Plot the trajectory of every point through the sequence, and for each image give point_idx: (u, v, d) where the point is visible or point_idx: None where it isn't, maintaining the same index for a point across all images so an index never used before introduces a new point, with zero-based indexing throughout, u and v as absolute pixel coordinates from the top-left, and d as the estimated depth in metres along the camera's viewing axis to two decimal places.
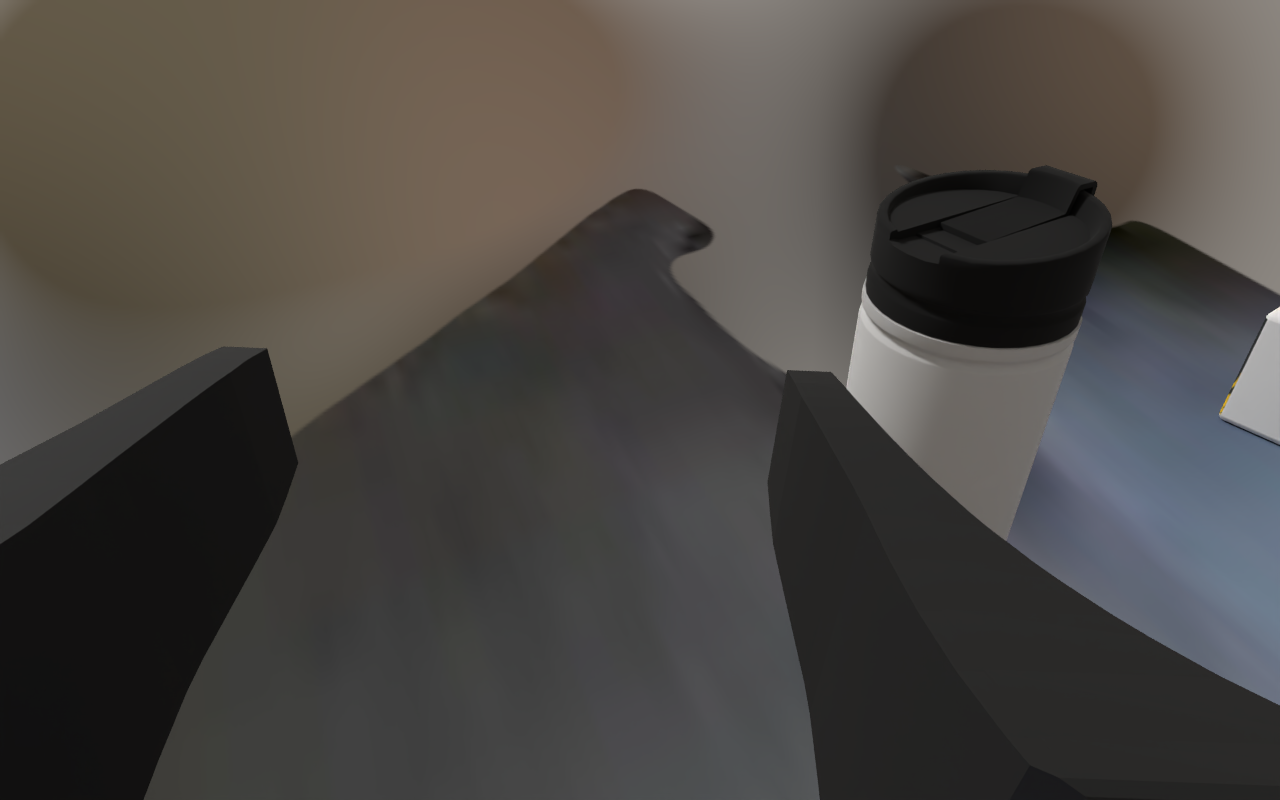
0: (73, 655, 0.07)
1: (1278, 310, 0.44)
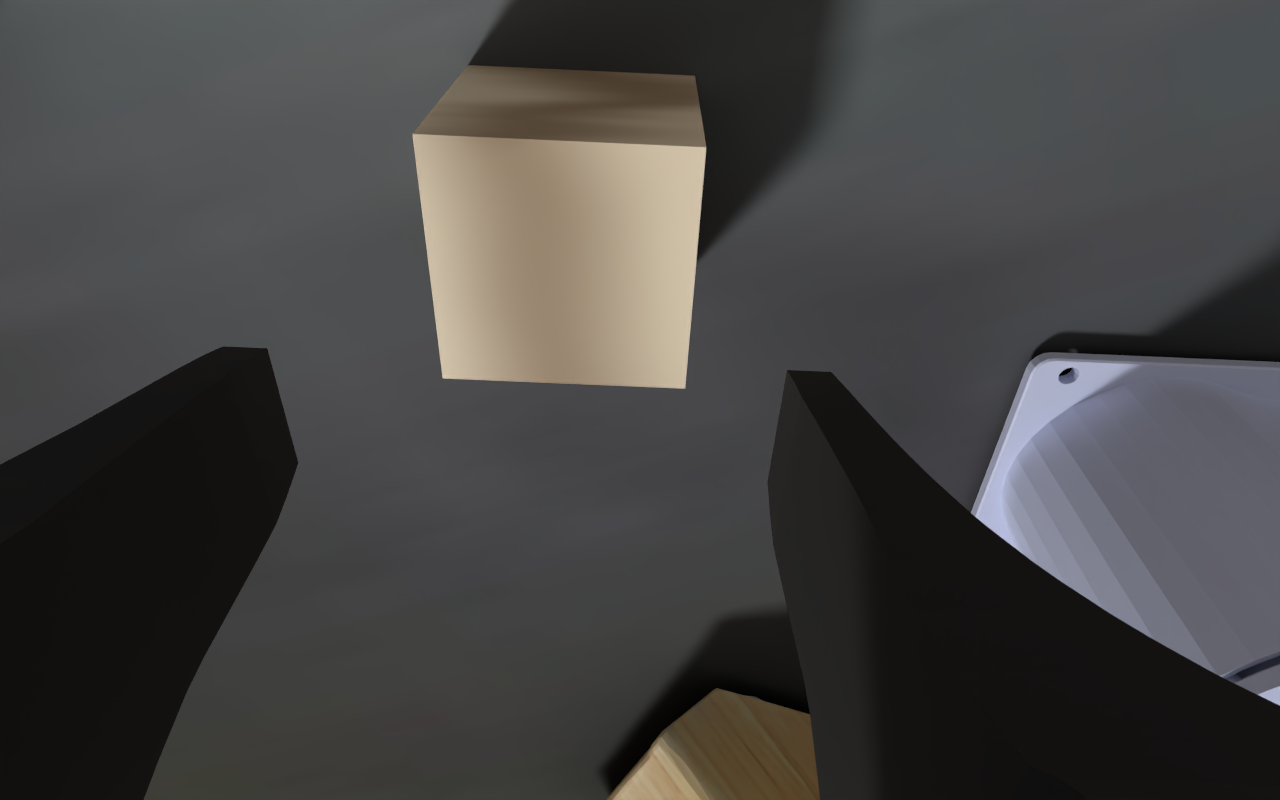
0: (73, 655, 0.07)
1: None
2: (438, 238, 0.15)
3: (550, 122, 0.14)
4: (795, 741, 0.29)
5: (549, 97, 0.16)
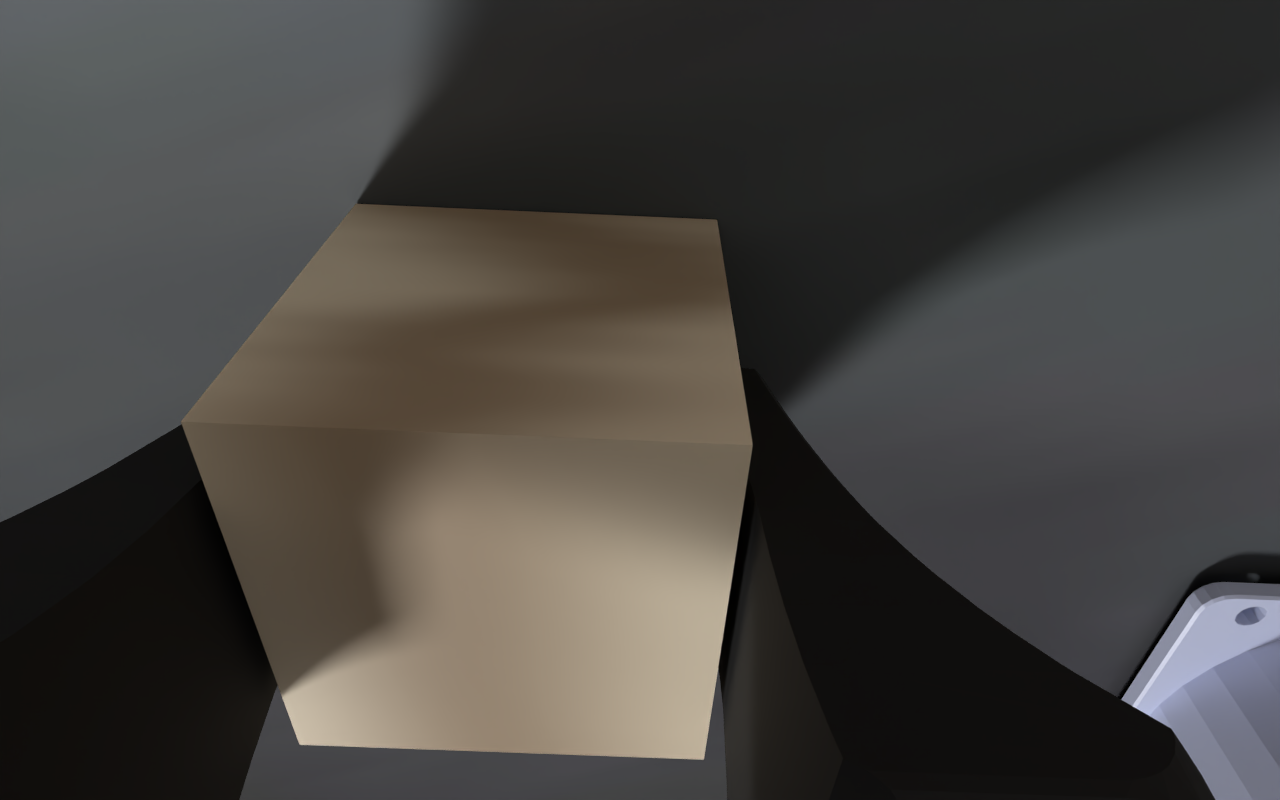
0: (183, 659, 0.08)
1: None
2: (260, 571, 0.08)
3: (460, 367, 0.08)
4: None
5: (471, 290, 0.09)
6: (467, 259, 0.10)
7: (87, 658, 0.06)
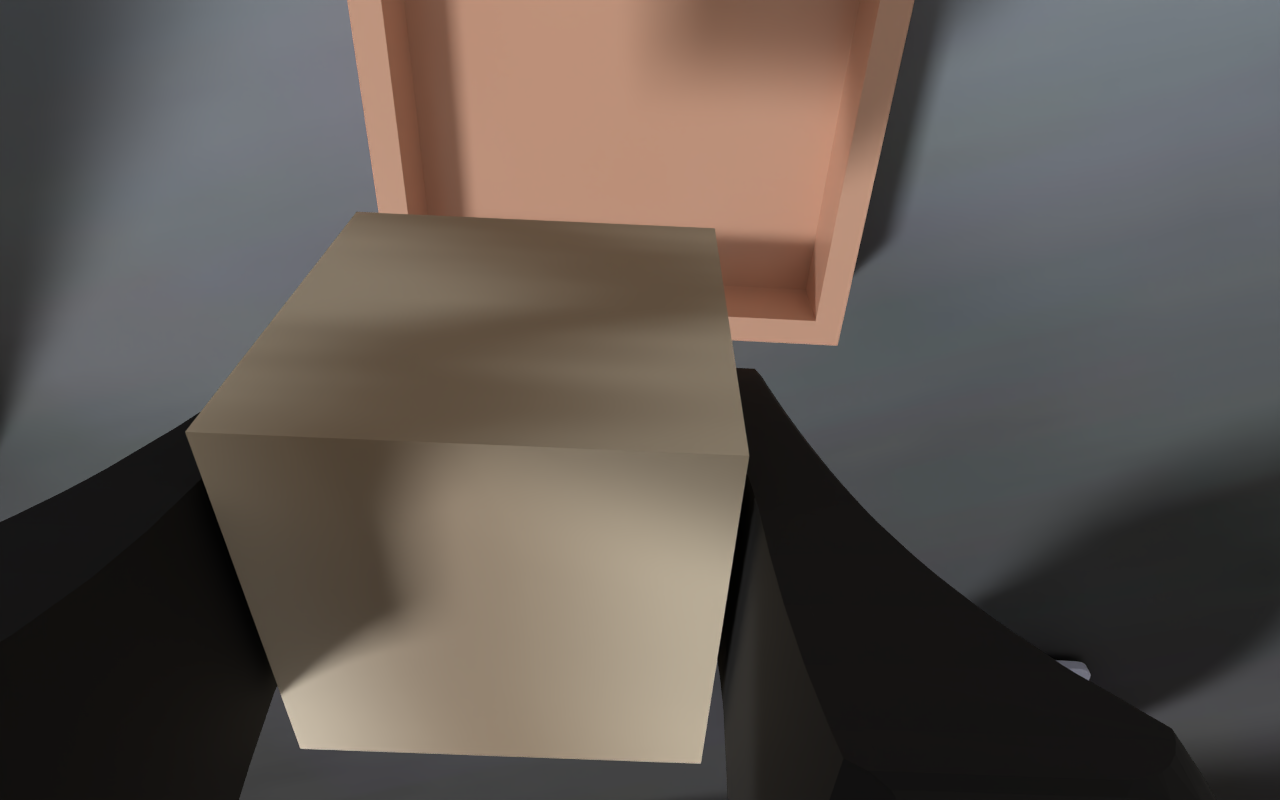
0: (182, 659, 0.08)
1: None
2: (262, 578, 0.08)
3: (461, 377, 0.08)
4: None
5: (470, 299, 0.09)
6: (467, 268, 0.10)
7: (85, 658, 0.06)
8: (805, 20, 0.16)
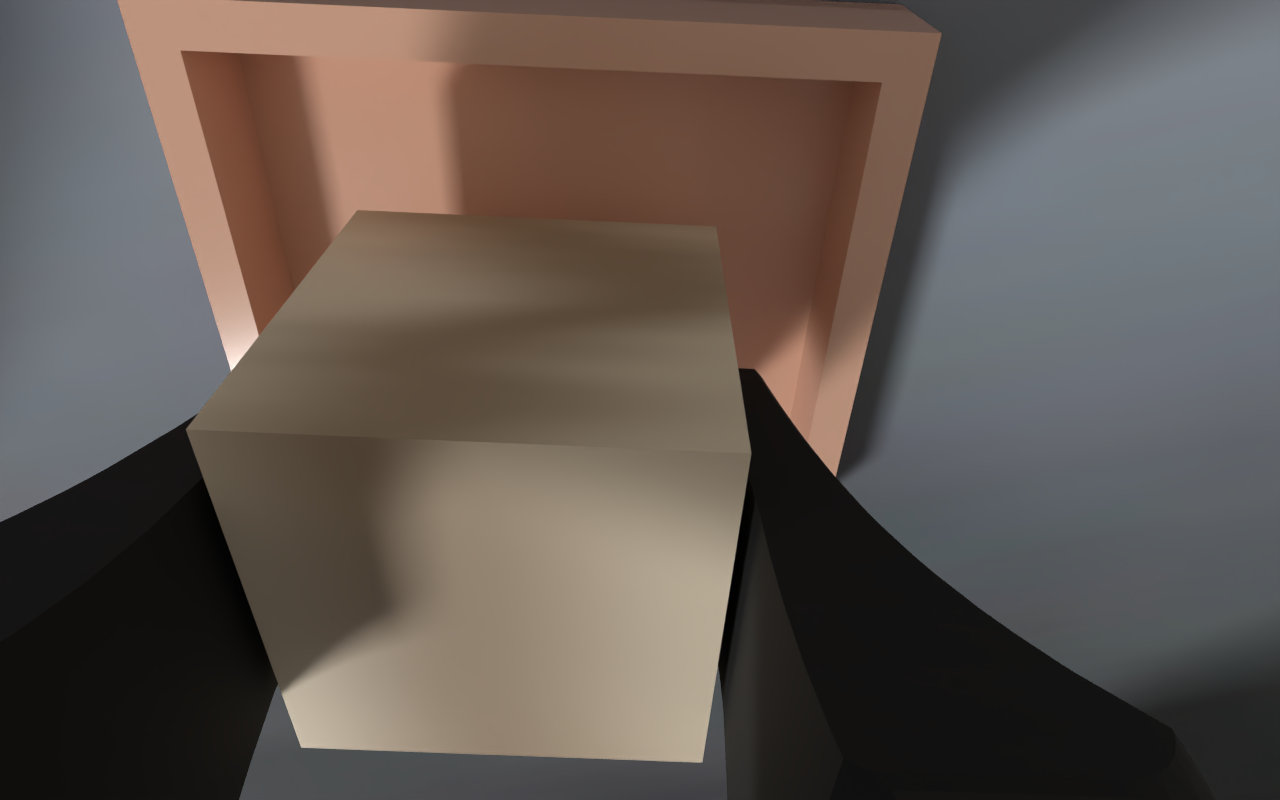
0: (182, 659, 0.08)
1: None
2: (263, 576, 0.08)
3: (462, 375, 0.08)
4: None
5: (472, 297, 0.09)
6: (468, 266, 0.10)
7: (85, 658, 0.06)
8: (761, 246, 0.13)
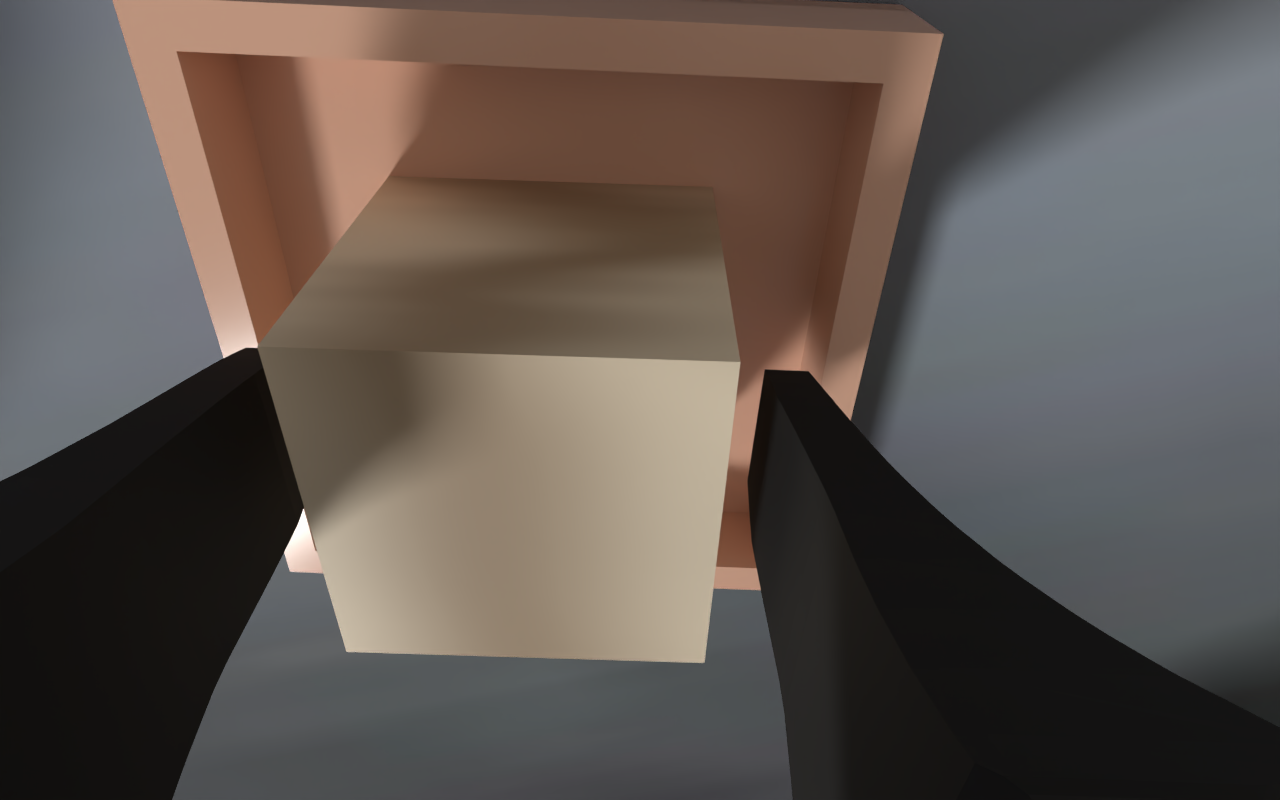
0: (106, 656, 0.07)
1: None
2: (318, 484, 0.09)
3: (489, 305, 0.09)
4: None
5: (494, 244, 0.10)
6: (490, 220, 0.11)
7: None
8: (761, 247, 0.13)
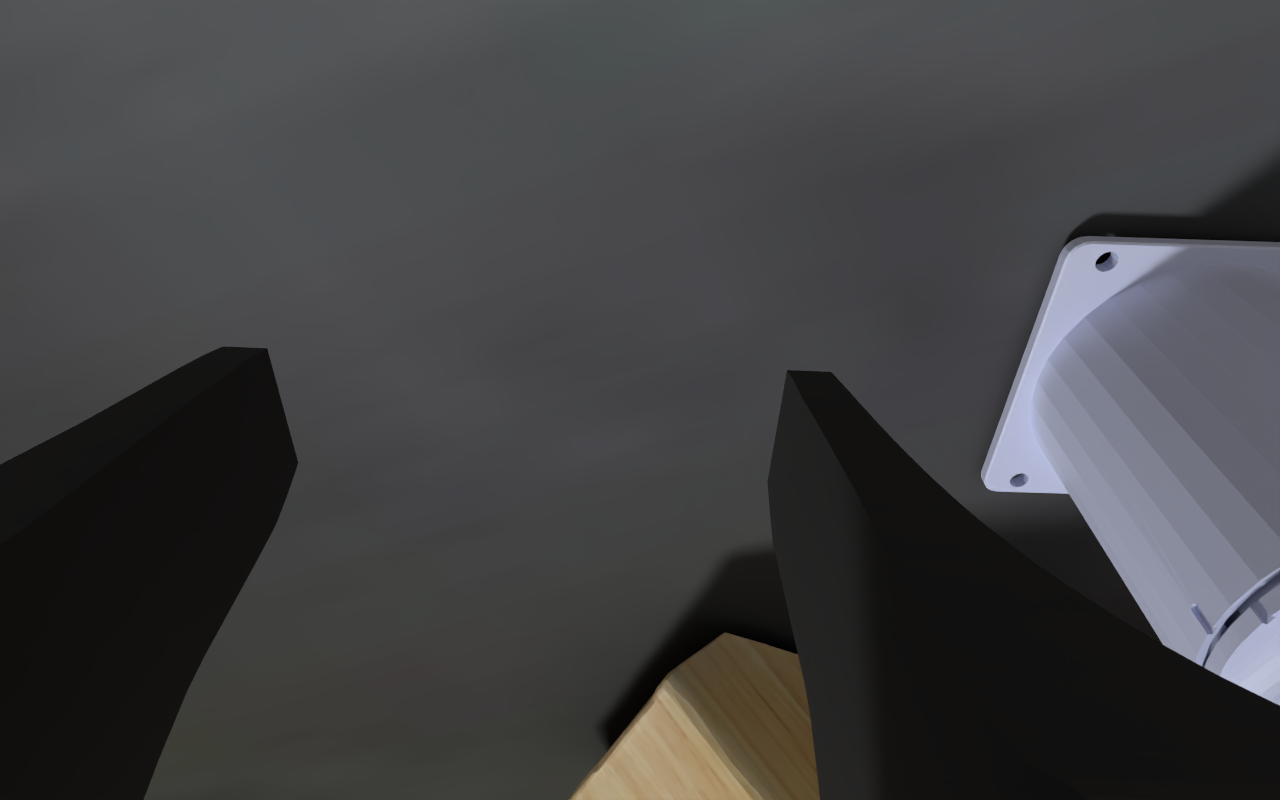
0: (73, 655, 0.07)
1: None
2: None
3: None
4: None
5: None
6: None
7: None
8: None
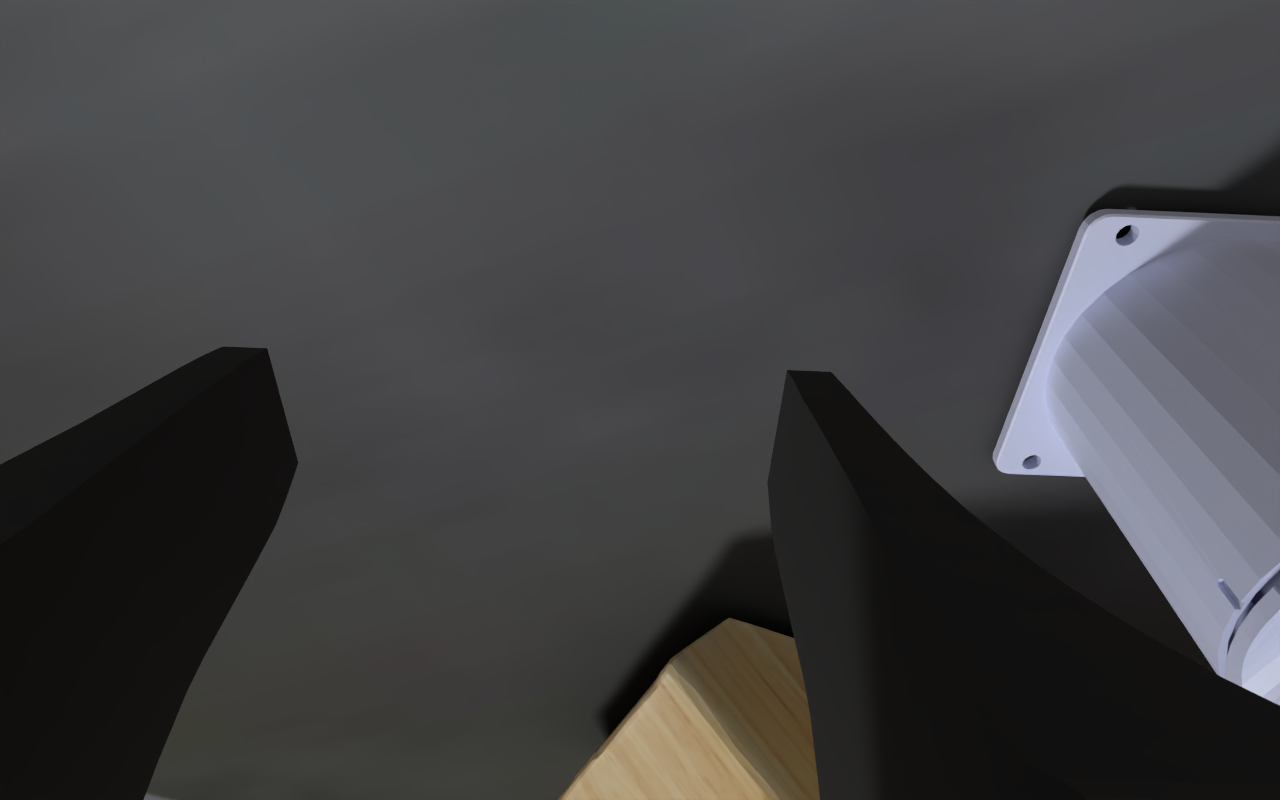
0: (73, 655, 0.07)
1: None
2: None
3: None
4: None
5: None
6: None
7: None
8: None
